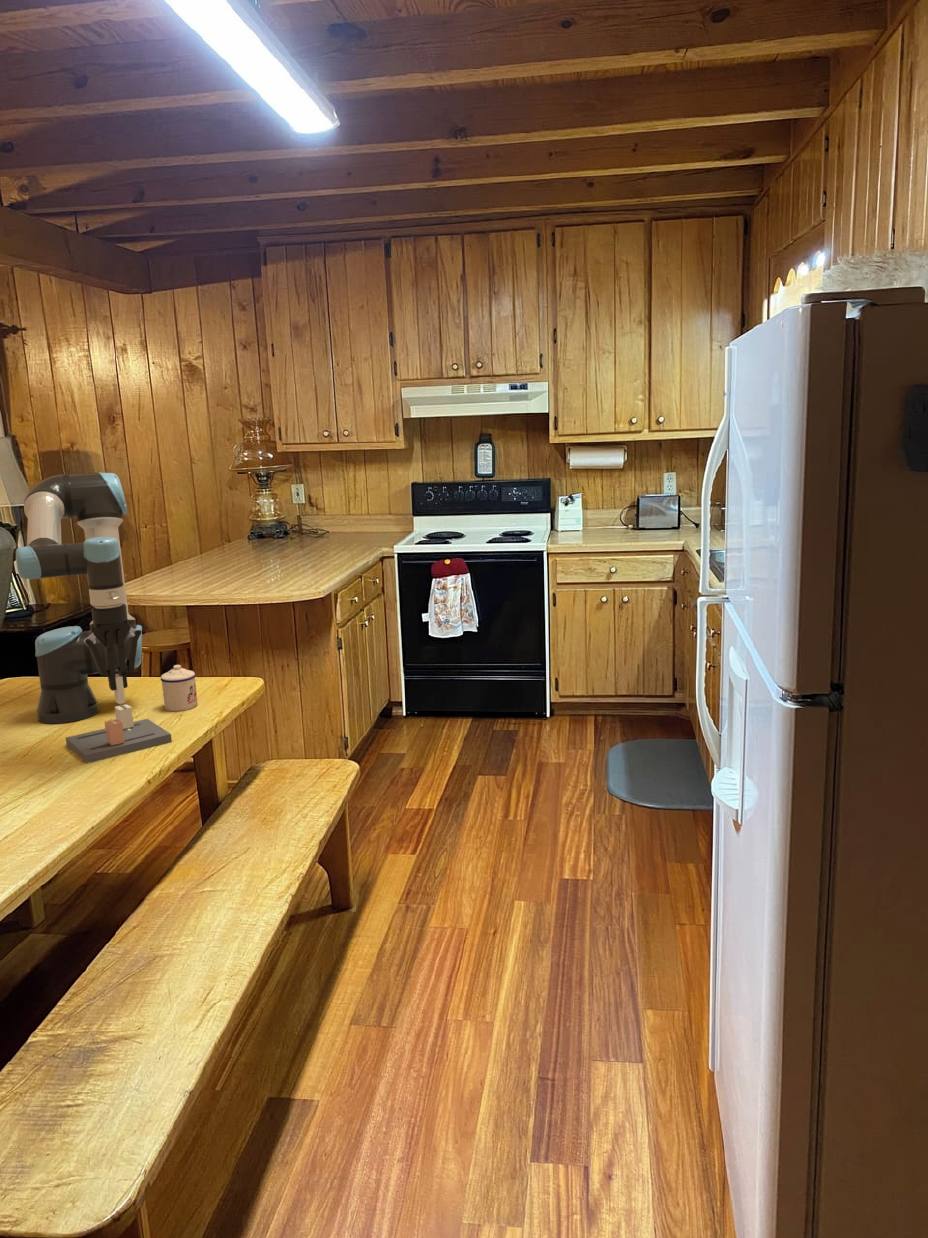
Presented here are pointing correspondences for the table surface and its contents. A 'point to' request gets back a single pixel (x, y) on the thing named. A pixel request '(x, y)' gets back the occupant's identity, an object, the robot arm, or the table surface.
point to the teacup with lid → (179, 689)
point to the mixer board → (135, 739)
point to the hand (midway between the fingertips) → (120, 702)
